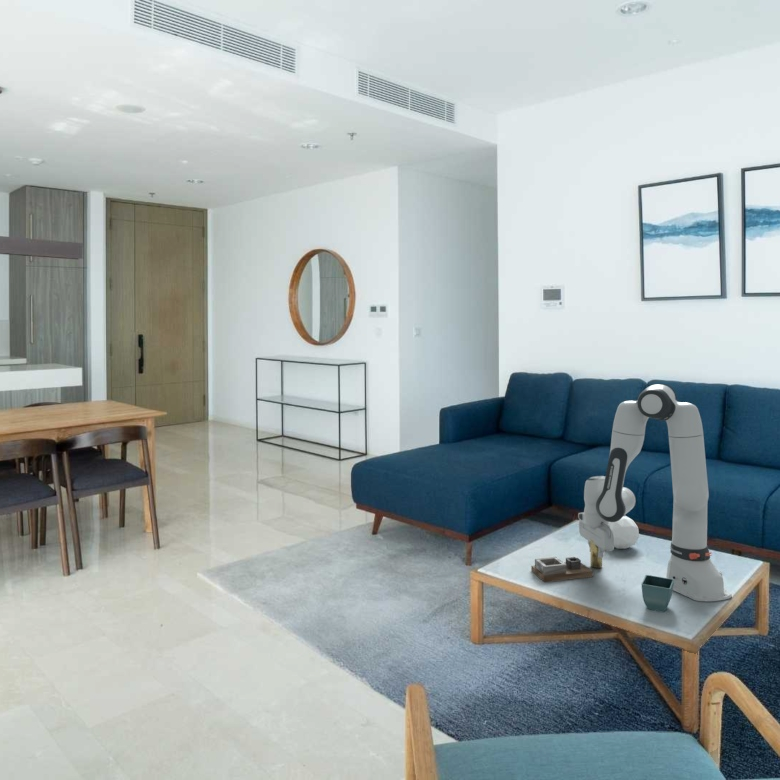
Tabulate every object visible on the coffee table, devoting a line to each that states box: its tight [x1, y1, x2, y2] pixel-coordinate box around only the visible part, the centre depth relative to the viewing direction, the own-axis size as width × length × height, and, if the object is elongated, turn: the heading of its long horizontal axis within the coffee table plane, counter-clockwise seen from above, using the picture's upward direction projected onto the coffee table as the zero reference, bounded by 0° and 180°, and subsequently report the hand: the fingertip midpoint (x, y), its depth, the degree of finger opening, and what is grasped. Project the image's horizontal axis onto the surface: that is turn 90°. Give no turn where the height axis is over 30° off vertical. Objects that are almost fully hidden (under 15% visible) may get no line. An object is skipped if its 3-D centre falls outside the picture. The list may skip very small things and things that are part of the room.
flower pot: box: [641, 574, 674, 613], centre depth 221 cm, size 9×9×9 cm
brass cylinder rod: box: [590, 539, 603, 569], centre depth 258 cm, size 4×4×10 cm
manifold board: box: [530, 556, 594, 583], centre depth 252 cm, size 11×19×5 cm, turn 102°
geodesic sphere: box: [608, 515, 640, 550], centre depth 279 cm, size 14×14×14 cm
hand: (596, 555), depth 258 cm, fingers closed on brass cylinder rod, 4 cm apart
